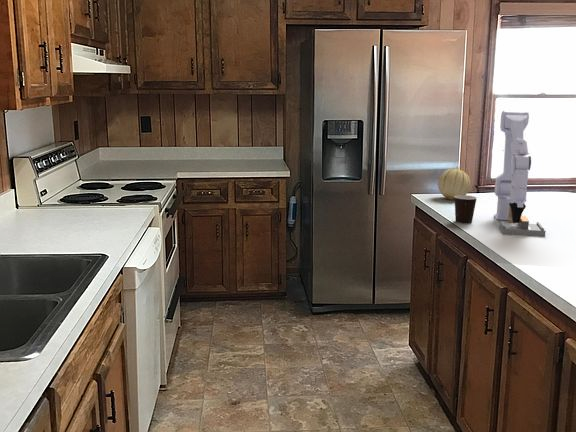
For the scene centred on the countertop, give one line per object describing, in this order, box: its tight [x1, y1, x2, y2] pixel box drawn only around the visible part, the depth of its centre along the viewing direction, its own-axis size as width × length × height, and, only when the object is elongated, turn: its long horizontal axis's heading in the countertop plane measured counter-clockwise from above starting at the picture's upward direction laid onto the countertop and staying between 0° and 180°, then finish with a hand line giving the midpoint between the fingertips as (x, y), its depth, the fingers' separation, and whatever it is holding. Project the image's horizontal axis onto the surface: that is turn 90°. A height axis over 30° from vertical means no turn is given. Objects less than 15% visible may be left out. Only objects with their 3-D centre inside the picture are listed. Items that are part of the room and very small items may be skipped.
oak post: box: [507, 207, 513, 223], centre depth 251 cm, size 3×3×7 cm
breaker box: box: [498, 220, 547, 237], centre depth 242 cm, size 11×15×3 cm
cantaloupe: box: [437, 166, 471, 201], centre depth 302 cm, size 15×15×15 cm
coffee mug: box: [453, 194, 478, 224], centre depth 255 cm, size 12×9×10 cm
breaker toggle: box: [518, 215, 530, 229], centre depth 241 cm, size 9×2×3 cm, turn 169°
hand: (515, 222), depth 242 cm, fingers closed, pressing on breaker toggle
